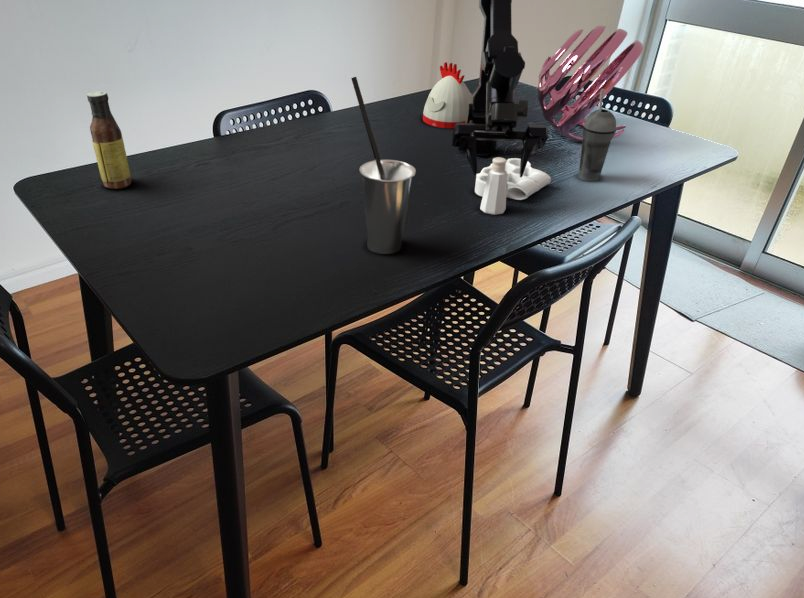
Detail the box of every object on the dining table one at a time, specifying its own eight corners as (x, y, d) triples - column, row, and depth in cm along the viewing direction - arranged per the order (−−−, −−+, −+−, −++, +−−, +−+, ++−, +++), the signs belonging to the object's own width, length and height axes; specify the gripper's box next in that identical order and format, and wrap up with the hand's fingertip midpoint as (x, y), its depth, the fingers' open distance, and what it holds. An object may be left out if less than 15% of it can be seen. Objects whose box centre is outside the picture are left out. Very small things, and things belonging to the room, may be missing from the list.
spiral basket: (691, 58, 178) (611, -17, 176) (657, 113, 163) (570, 32, 161) (612, 128, 202) (542, 63, 200) (577, 181, 187) (500, 112, 185)
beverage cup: (606, 185, 161) (627, 95, 150) (573, 182, 163) (591, 92, 151) (603, 173, 167) (623, 85, 156) (571, 170, 168) (589, 83, 157)
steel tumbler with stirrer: (349, 233, 140) (351, 75, 122) (405, 232, 141) (415, 75, 123) (353, 260, 131) (356, 94, 114) (414, 258, 132) (426, 93, 114)
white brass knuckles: (517, 208, 151) (459, 189, 158) (556, 183, 162) (499, 167, 169) (520, 193, 149) (460, 175, 156) (558, 169, 160) (501, 153, 167)
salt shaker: (510, 210, 150) (518, 159, 143) (494, 217, 147) (502, 166, 140) (490, 202, 153) (497, 152, 147) (474, 209, 150) (480, 158, 144)
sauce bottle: (137, 181, 159) (121, 90, 147) (121, 192, 154) (103, 99, 142) (112, 177, 161) (94, 87, 149) (95, 188, 156) (76, 95, 144)
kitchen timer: (445, 109, 205) (450, 54, 196) (483, 121, 197) (490, 64, 188) (412, 119, 197) (416, 62, 188) (449, 131, 189) (455, 73, 180)
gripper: (459, 82, 139) (456, 157, 137) (555, 85, 138) (554, 160, 136) (453, 109, 150) (450, 180, 148) (542, 113, 149) (541, 183, 147)
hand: (498, 175), depth 144 cm, fingers open, 9 cm apart
